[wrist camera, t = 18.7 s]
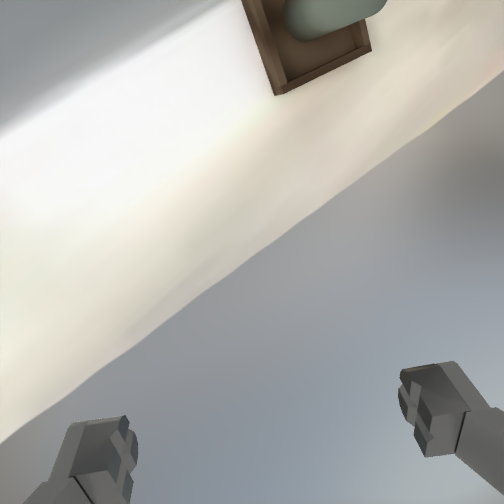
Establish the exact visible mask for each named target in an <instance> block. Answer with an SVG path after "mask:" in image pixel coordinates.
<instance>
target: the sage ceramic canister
mask: <svg viewBox="0 0 504 504" xmlns="http://www.w3.org/2000/svg"><path fill="white" fill-rule="evenodd" d="M386 2H387V0H285V3H284V6H283V20H284V24H285V27H286V29H287V31H288V32H289V34H290V35H291V36H292V37H293V38H294V39H296V40H298V41H300V42H309V41H312V40H314V39H316V38H319V37H321V36H324V35H326V34H329V33H331V32H333V31H336V30H338V29H341V28H343V27H345V26H348V25H350V24H353V23H355V22H357V21H360V20H362V19H365V18H367V17H370V16H372V15H374V14H376V13H378V12H379V11H380V10H381V9H382V8H383V7H384V5H385V3H386Z"/></svg>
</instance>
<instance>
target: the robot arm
mask: <svg viewBox="0 0 504 504" xmlns="http://www.w3.org/2000/svg"><path fill="white" fill-rule="evenodd" d="M400 380H401V382H402V383H403V384H402V385H401V386H400V388H399V389H398V398H399V404H400V407H401V410H402V413H403V415H404V417H405V419H406V421H407V422H409V423H410V424H412V425H413V426H414V427H415V429H414V437H415V439H416V441H417V443H418V445H419V447H420V449H421V451H422V453H423V455H424V457H433V456H440V455H447V454H455V453H456V454H455V455H456V456H457V457H458V458H459V459H461V460H462V461H463V462H464V463H465V464H467V465H468V466H469V467H470V468H471V469H473V470H474V471H475V472H476V473H478V474H479V475H480V476H481V477H482V478H483V479H485V480H486V481H487V482H488V483H489V484H491V485H492V486H493V487H494V488H495V489H497V490H498V491H499V492H500V493H501V494H503V495H504V412H503V411H502V410H500V409H498V408H496V407H495V408H491V407H490V406H489V405H488V403H487V402H486V401H485V399H484V398H483V397H482V395H481V394H480V393H479V392H478V390H477V389H476V388H475V386H474V385H473V384H472V382H471V381H470V380H469V378H468V377H467V376H466V374H465V373H464V372H463V370H462V369H461V368H460V366H459V365H458V364H457V363H456V362H454V361H449V362H443V363H437V364H429V365H423V366H418V367H412V368H407V369H402V371H401V372H400ZM128 427H129V421H128V419H127V417H126V415H124V416H117V417H110V418H102V419H95V420H87V421H81V422H74V423H71V425H70V426H69V427H68V429H67V431H66V434H65V437H64V439H63V442H62V444H61V447H60V450H59V453H58V455H57V458H56V461H55V463H54V466H53V469H52V471H51V474H50V477H49V479H48V481H46V482H42V484H40V485H39V486H38V488H37V489H36V490H35V491H34V492H33V493H32V494H31V495H30V496H29V497H28V498H27V499H26V501H25V502H24V503H23V504H129V503H130V498H131V493H132V487H133V480H132V478H131V476H130V473H131V472H132V471H133V469H134V468H135V467H136V464H137V459H138V442H137V437H136V435H135V433H134V431H132V430H130V429H128Z"/></svg>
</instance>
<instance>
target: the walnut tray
mask: <svg viewBox="0 0 504 504" xmlns="http://www.w3.org/2000/svg"><path fill="white" fill-rule="evenodd" d="M241 1H242V4H243V6H244V9H245V12H246V15H247V18H248V21H249V24H250V27H251V29H252V32H253V35H254V38H255V41H256V44H257V47H258V50H259V53H260V55H261V58H262V61H263V64H264V67H265V70H266V73H267V76H268V78H269V81H270V84H271V87H272V90H273V93H274V96H276V95H281V94H285V93H287V92H289V91H291V90H293V89H295V88H297V87H299V86H301V85H303V84H305V83H307V82H309V81H311V80H313V79H315V78H317V77H319V76H321V75H324V74H326V73H328V72H330V71H332V70H334V69H336V68H338V67H340V66H342V65H344V64H346V63H348V62H350V61H352V60H354V59H356V58H358V57H360V56H362V55H364V54H367V53H369V52H371V51H372V49H371V44H370V40H369V35H368V31H367V26H366V22H365V19H362V20H360V21H357V22H355V23H353V24H350V25H348V26H345V27H343V28H341V29H338V30H336V31H333V32H331V33H329V34H326V35H324V36H321V37H319V38H316V39H314V40H312V41H309V42H300V41H298V40H296V39H294V38H293V37H292V36H291V35H290V34H289V32H288V31H287V29H286V27H285V24H284V20H283V6H284V3H285V0H241Z"/></svg>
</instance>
